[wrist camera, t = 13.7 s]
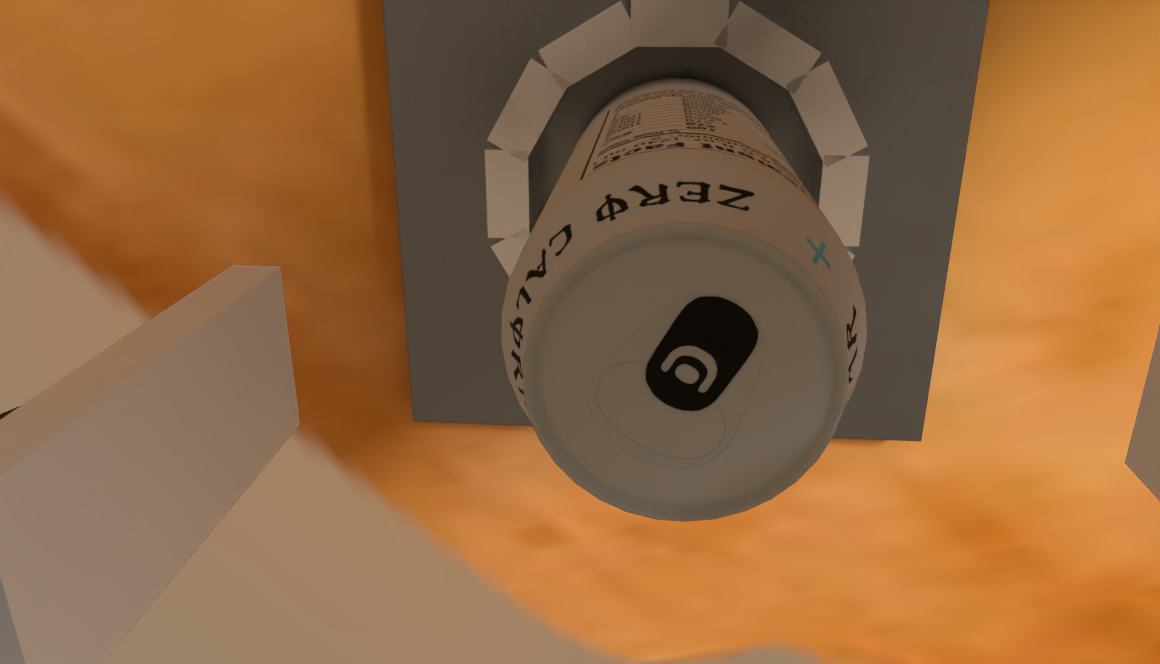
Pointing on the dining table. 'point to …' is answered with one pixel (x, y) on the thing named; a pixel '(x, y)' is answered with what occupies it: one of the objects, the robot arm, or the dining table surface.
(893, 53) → the ring collar
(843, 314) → the energy drink can
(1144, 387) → the robot arm
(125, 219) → the dining table surface
